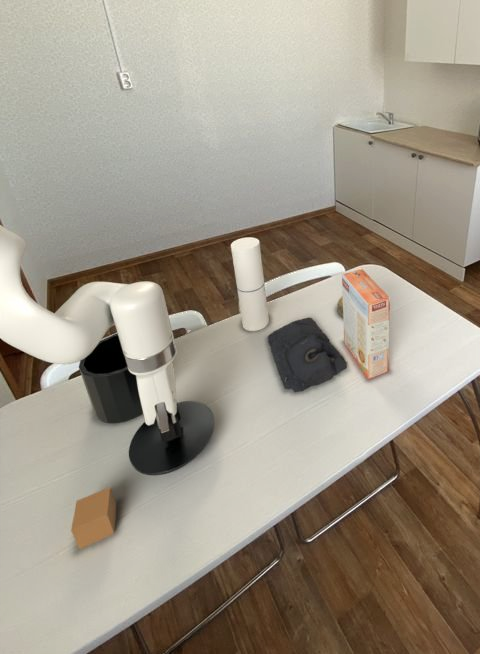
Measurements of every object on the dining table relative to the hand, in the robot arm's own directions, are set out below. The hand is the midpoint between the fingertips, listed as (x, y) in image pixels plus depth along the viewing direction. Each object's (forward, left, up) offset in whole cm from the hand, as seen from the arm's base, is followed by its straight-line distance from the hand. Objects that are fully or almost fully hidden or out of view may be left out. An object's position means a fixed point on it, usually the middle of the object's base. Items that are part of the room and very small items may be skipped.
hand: (171, 429), depth 71 cm
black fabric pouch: (+24, +22, -5) cm, 33 cm away
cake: (+38, +38, -5) cm, 54 cm away
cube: (-8, -12, -5) cm, 15 cm away
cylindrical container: (+10, +36, -5) cm, 38 cm away
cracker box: (+39, +19, -5) cm, 44 cm away
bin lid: (0, 0, -2) cm, 2 cm away
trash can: (-14, +14, -5) cm, 21 cm away
